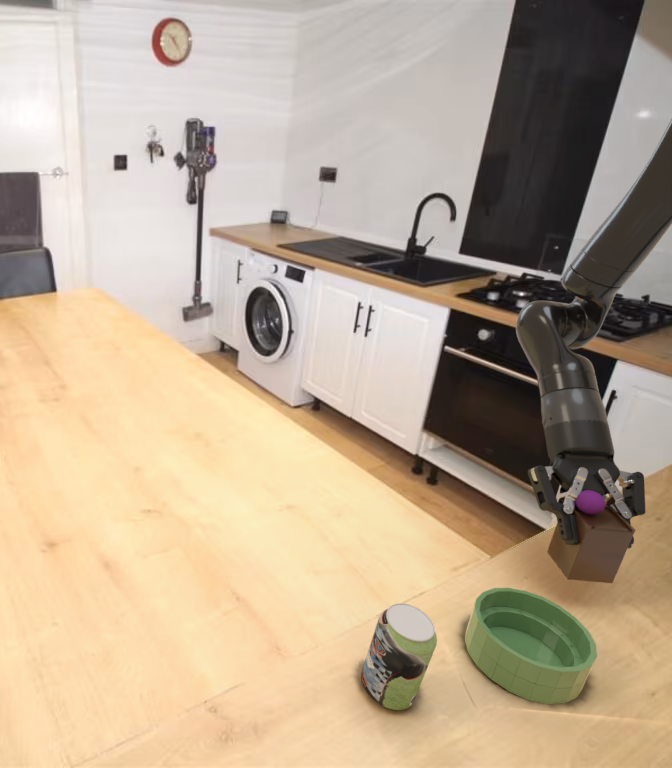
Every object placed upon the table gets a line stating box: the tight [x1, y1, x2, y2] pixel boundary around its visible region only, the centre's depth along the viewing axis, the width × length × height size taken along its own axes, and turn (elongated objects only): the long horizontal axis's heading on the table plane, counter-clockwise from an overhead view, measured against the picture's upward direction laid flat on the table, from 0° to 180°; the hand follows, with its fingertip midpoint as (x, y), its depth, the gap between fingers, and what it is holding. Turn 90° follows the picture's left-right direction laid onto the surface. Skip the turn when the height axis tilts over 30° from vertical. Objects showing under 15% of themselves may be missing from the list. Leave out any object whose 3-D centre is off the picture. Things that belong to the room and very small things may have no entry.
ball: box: [576, 490, 605, 514], centre depth 73 cm, size 3×3×3 cm
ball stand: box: [546, 504, 636, 584], centre depth 74 cm, size 6×6×9 cm
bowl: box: [464, 587, 598, 705], centre depth 66 cm, size 12×12×6 cm
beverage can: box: [360, 602, 438, 711], centre depth 61 cm, size 6×7×12 cm
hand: (598, 545), depth 72 cm, fingers closed on ball stand, 5 cm apart
